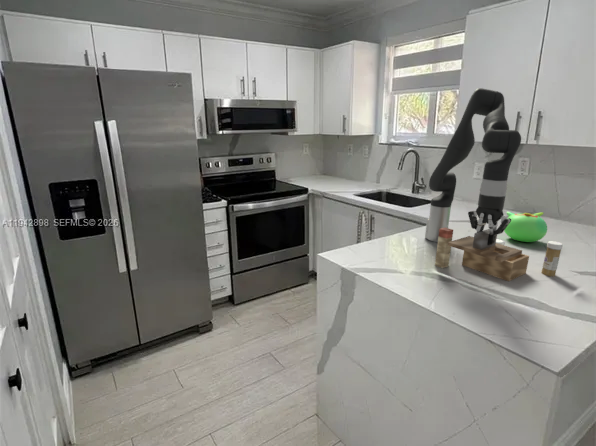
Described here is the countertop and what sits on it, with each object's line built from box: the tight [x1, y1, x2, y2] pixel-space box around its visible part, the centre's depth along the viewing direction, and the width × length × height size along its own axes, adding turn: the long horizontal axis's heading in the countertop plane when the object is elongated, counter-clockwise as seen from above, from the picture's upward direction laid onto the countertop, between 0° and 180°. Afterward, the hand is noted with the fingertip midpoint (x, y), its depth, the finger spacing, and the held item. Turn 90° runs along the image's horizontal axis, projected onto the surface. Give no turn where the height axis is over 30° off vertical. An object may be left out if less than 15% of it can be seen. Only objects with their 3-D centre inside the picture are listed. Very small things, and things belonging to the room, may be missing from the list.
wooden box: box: [461, 250, 530, 282], centre depth 136 cm, size 18×13×8 cm
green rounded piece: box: [503, 211, 548, 243], centre depth 172 cm, size 18×17×15 cm
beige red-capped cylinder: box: [434, 227, 454, 269], centre depth 137 cm, size 4×4×16 cm
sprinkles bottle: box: [541, 240, 563, 277], centre depth 131 cm, size 5×5×13 cm
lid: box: [448, 228, 523, 262], centre depth 119 cm, size 18×13×6 cm
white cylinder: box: [496, 237, 506, 246], centre depth 153 cm, size 7×7×7 cm
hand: (484, 243), depth 120 cm, fingers closed on lid, 3 cm apart
